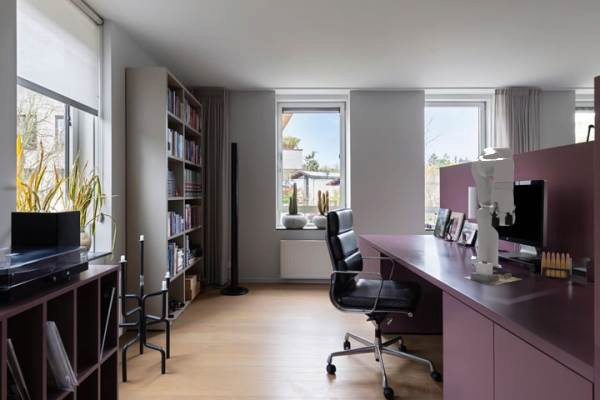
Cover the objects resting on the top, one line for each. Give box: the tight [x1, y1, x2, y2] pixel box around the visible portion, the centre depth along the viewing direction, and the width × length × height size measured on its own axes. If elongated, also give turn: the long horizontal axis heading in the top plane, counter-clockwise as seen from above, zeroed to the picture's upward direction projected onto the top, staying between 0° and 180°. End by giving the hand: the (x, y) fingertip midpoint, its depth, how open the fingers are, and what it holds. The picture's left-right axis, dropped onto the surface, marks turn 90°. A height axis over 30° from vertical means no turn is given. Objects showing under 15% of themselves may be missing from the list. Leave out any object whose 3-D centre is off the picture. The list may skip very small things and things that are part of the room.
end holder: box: [469, 271, 500, 284], centre depth 140 cm, size 8×8×2 cm
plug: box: [475, 260, 494, 276], centre depth 140 cm, size 4×4×8 cm
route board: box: [463, 269, 523, 286], centre depth 143 cm, size 14×20×4 cm
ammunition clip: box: [540, 251, 572, 281], centre depth 150 cm, size 11×2×12 cm, turn 62°
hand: (502, 225), depth 146 cm, fingers open, 9 cm apart
